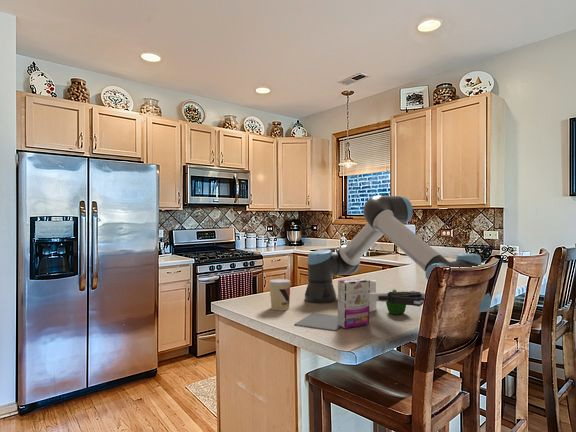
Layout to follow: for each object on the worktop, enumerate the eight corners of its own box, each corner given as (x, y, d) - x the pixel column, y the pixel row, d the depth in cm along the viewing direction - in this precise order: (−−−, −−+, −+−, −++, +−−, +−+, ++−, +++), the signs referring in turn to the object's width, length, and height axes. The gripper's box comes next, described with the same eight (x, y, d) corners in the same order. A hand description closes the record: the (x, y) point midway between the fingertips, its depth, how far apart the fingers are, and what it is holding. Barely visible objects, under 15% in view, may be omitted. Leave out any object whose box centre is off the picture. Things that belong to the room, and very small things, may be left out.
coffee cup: (283, 312, 148) (283, 283, 148) (265, 309, 153) (265, 281, 153) (294, 307, 156) (294, 279, 156) (277, 304, 161) (277, 278, 161)
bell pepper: (394, 309, 149) (394, 285, 149) (411, 313, 142) (410, 289, 142) (380, 312, 145) (380, 288, 145) (396, 317, 138) (396, 291, 138)
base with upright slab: (356, 311, 147) (356, 282, 147) (353, 306, 156) (353, 279, 156) (378, 311, 147) (377, 282, 147) (374, 306, 156) (373, 278, 156)
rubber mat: (294, 325, 130) (294, 324, 130) (312, 313, 145) (312, 312, 145) (335, 331, 122) (335, 329, 122) (350, 318, 137) (350, 317, 137)
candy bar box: (360, 321, 133) (362, 277, 133) (369, 325, 129) (370, 280, 128) (336, 324, 128) (337, 279, 128) (344, 329, 123) (345, 282, 123)
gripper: (435, 284, 128) (368, 282, 133) (443, 292, 115) (368, 290, 120) (435, 305, 128) (368, 302, 133) (443, 315, 115) (369, 312, 120)
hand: (368, 296), depth 126 cm, fingers closed
